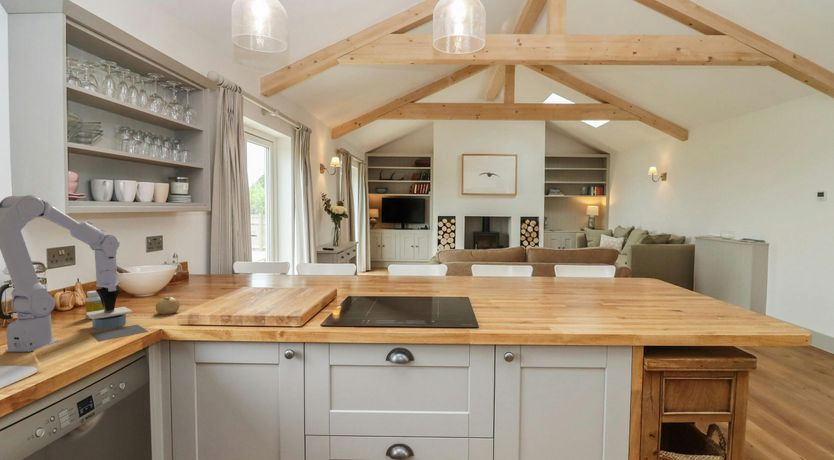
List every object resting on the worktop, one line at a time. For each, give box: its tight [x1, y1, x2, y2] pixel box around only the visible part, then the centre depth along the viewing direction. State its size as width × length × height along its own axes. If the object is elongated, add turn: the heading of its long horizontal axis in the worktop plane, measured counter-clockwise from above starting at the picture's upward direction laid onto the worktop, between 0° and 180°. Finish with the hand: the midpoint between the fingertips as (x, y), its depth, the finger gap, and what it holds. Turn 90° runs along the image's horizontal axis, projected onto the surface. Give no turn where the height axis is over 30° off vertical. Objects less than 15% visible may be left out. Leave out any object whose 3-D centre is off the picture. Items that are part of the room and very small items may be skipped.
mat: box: [89, 324, 149, 343], centre depth 135 cm, size 13×13×1 cm
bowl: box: [91, 314, 127, 330], centre depth 143 cm, size 9×9×4 cm
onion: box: [155, 296, 181, 316], centre depth 160 cm, size 8×8×7 cm
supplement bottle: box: [84, 290, 104, 320], centre depth 156 cm, size 5×5×10 cm
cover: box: [85, 306, 134, 320], centre depth 143 cm, size 11×11×5 cm
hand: (108, 309), depth 143 cm, fingers closed on cover, 3 cm apart
